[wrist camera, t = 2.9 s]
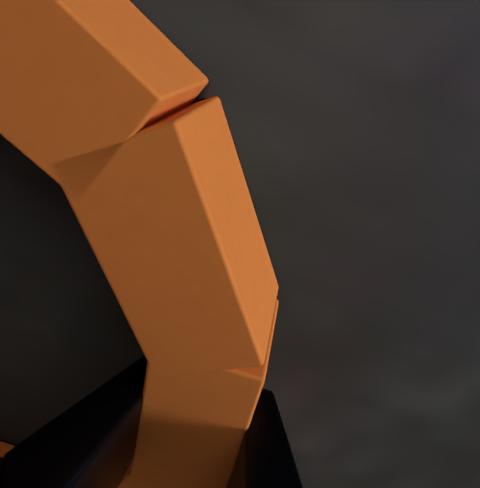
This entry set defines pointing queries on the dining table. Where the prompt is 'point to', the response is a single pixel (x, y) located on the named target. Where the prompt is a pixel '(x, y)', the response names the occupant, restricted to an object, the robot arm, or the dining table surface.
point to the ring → (150, 218)
